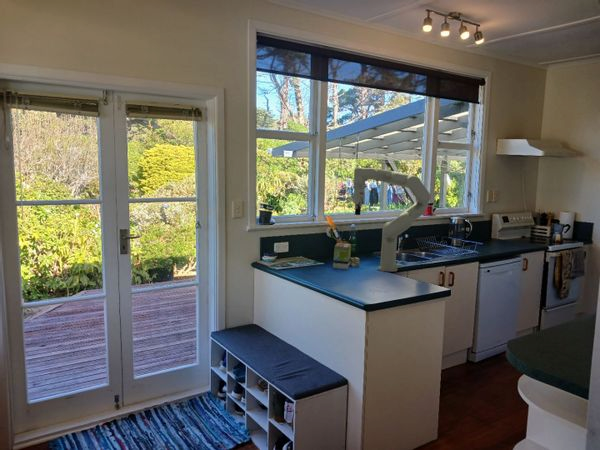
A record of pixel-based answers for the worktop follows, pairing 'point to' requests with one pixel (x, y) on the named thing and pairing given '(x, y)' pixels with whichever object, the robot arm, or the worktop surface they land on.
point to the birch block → (354, 261)
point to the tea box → (342, 256)
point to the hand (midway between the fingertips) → (357, 214)
